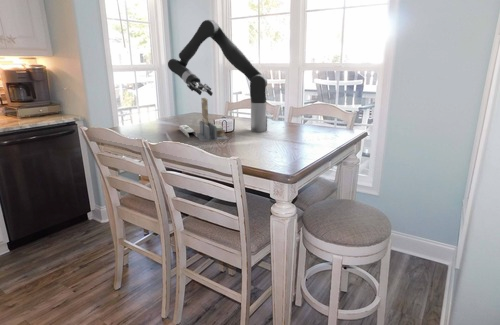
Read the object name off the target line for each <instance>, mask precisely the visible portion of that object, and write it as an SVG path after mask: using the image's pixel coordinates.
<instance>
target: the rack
mask: <svg viewBox="0 0 500 325" xmlns="http://www.w3.org/2000/svg"><path fill="white" fill-rule="evenodd" d="M215 125H216V124H214V123H212V122H211V121H210V120H208V126H207V125H206V124H205V123H204V122H202V120H200V121H199V132H196V135H197V137H196V138H198V139H199V140H200V141H201V142H207V141H208V142H211V141H221V140H229V139H230V138H229V137H228V136H227V135H225V134H224V136H217V129H216V126H215Z"/></svg>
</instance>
